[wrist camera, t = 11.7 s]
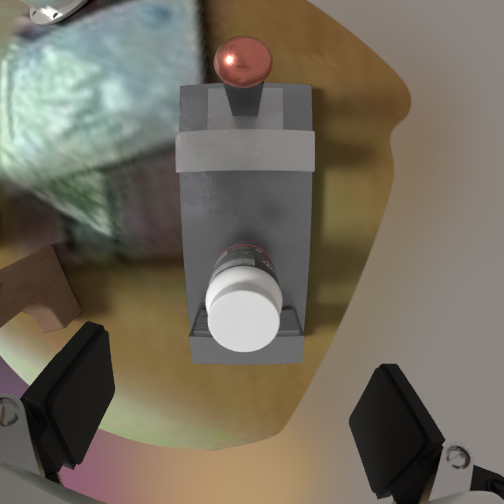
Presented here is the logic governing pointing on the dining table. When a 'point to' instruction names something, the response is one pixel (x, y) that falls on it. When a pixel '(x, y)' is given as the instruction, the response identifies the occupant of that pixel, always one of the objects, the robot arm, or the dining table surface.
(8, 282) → the wooden block
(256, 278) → the pill bottle
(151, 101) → the dining table surface
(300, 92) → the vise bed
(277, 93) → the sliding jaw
